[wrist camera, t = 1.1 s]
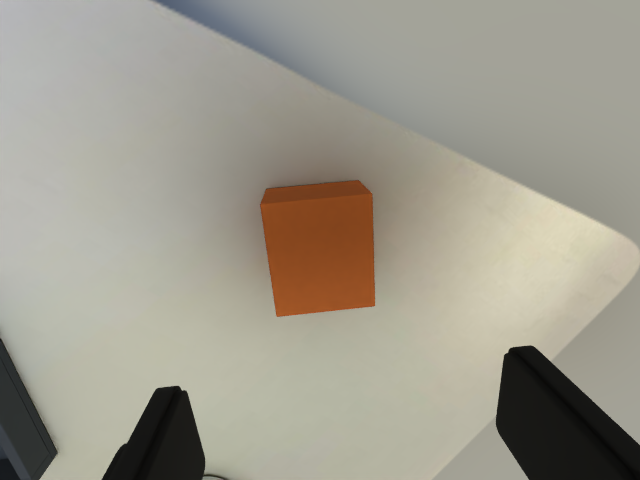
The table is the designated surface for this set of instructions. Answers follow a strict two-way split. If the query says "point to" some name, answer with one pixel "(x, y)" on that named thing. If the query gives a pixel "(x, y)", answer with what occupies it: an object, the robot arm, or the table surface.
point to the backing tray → (20, 429)
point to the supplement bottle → (211, 478)
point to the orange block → (320, 247)
